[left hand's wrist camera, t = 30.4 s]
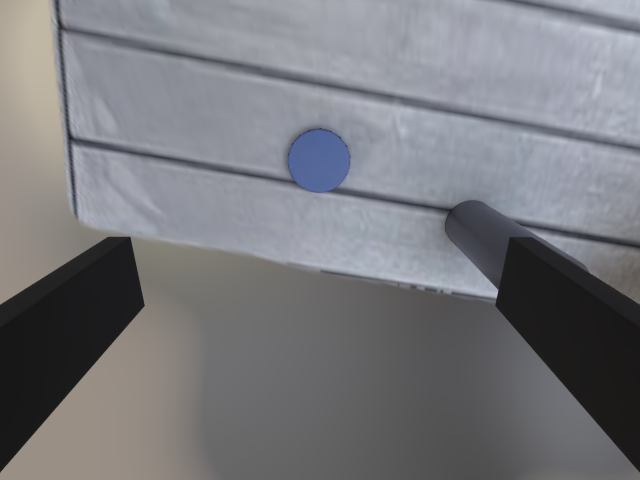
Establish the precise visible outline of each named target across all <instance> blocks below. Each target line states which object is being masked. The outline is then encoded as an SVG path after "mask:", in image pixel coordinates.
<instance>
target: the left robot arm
mask: <svg viewBox="0 0 640 480" xmlns="http://www.w3.org/2000/svg"><path fill="white" fill-rule="evenodd" d="M144 306H145V305H144V300H143V296H142V291H141V286H140V281H139V276H138V271H137V267H136V262H135V257H134V252H133V247H132V243H131V238H130V237H107V238H106V239H104V240H102V241H101V242H99V243H98V244H96V245H94V246H93V247H91V248H90V249H88V250H86V251H85V252H83V253H82V254H80V255H79V256H77V257H75V258H74V259H72V260H71V261H69V262H67V263H66V264H64V265H63V266H61V267H59V268H58V269H56V270H55V271H53V272H52V273H50V274H48V275H47V276H45V277H44V278H42V279H40V280H39V281H37V282H36V283H34V284H32V285H31V286H29V287H28V288H26V289H25V290H23V291H21V292H20V293H18V294H17V295H15V296H13V297H12V298H10V299H9V300H7V301H5V302H4V303H2V304H1V305H0V472H1V471H2V470H3V469H4V467H5V466H6V465H7V464H8V463H9V462H10V461H11V459H12V458H13V457H14V456H15V455H16V454H17V452H18V451H19V450H20V449H21V448H22V447H23V445H24V444H25V443H26V442H27V441H28V440H29V439H30V437H31V436H32V435H33V434H34V433H35V432H36V431H37V429H38V428H39V427H40V426H41V425H42V424H43V422H44V421H45V420H46V419H47V418H48V417H49V416H50V414H51V413H52V412H53V411H54V410H55V409H56V407H57V406H58V405H59V404H60V403H61V402H62V401H63V399H64V398H65V397H66V396H67V395H68V394H69V392H70V391H71V390H72V389H73V388H74V387H75V386H76V384H77V383H78V382H79V381H80V380H81V379H82V377H83V376H84V375H85V374H86V373H87V372H88V371H89V369H90V368H91V367H92V366H93V365H94V364H95V362H96V361H97V360H98V359H99V358H100V357H101V356H102V354H103V353H104V352H105V351H106V350H107V349H108V347H109V346H110V345H111V344H112V343H113V342H114V340H115V339H116V338H117V337H118V336H119V335H120V334H121V333H122V331H123V330H124V329H125V328H126V327H127V326H128V324H129V323H130V322H131V321H132V320H133V319H134V318H135V316H136V315H137V314H138V313H139V312H140V311H141V309H142V308H143V307H144ZM495 306H496V307H497V308H498V309H499V311H500V312H501V313H502V314H503V315H504V316H505V318H506V319H507V320H508V321H509V322H510V323H511V324H512V326H513V327H514V328H515V329H516V330H517V331H518V332H519V334H520V335H521V336H522V337H523V338H524V339H525V341H526V342H527V343H528V344H529V345H530V346H531V347H532V349H533V350H534V351H535V352H536V353H537V354H538V356H539V357H540V358H541V359H542V360H543V361H544V362H545V364H546V365H547V366H548V367H549V368H550V369H551V371H552V372H553V373H554V374H555V375H556V376H557V377H558V379H559V380H560V381H561V382H562V383H563V384H564V386H565V387H566V388H567V389H568V390H569V391H570V392H571V394H572V395H573V396H574V397H575V398H576V399H577V401H578V402H579V403H580V404H581V405H582V406H583V407H584V409H585V410H586V411H587V412H588V413H589V414H590V416H591V417H592V418H593V419H594V420H595V421H596V422H597V424H598V425H599V426H600V427H601V428H602V429H603V430H604V432H605V433H606V434H607V435H608V436H609V437H610V439H611V440H612V441H613V442H614V443H615V444H616V446H617V447H618V448H619V449H620V450H621V451H622V452H623V454H624V455H625V456H626V457H627V458H628V459H629V461H630V462H631V463H632V464H633V465H634V466H635V467H636V469H637V470H638V471H639V472H640V305H639V304H638V303H636V302H635V301H633V300H631V299H630V298H628V297H627V296H625V295H623V294H622V293H620V292H619V291H617V290H615V289H614V288H612V287H611V286H609V285H608V284H606V283H604V282H603V281H601V280H600V279H598V278H596V277H595V276H593V275H592V274H590V273H588V272H587V271H585V270H584V269H582V268H581V267H579V266H577V265H576V264H574V263H573V262H571V261H569V260H568V259H566V258H565V257H563V256H561V255H560V254H558V253H557V252H555V251H554V250H552V249H550V248H549V247H547V246H546V245H544V244H542V243H541V242H539V241H538V240H536V239H534V238H533V237H510V238H509V243H508V247H507V252H506V257H505V262H504V267H503V271H502V276H501V281H500V286H499V291H498V295H497V300H496V305H495Z"/></svg>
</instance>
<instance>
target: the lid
mask: <svg viewBox="0 0 640 480" xmlns="http://www.w3.org/2000/svg"><path fill="white" fill-rule="evenodd" d="M288 155H289V156H288V166H289V171H290V173H291V175H292V177H293V179H294V180H295V182H296V183H297V184H298V185H299V186H301V187H302V188H304V189H306V190H308V191H311V192H318V193H319V192H327V191H330V190H332V189H334V188H336V187H337V186H338V185H340V184H341V183H342V182H343V180H344V179H345V177H346V176H347V173H348V170H349V166H350V156H349V152H348V149H347V145H345V144H344V142H343V141H342V139H341V137H339V136H337V135H336V134H335V133H333V132H332V131H331V130H330V131H328V130H325V129H321V128H320V129H313V130H309V131H307V132H305V133H303V134H302V135H299V137H298V138H297V139H296V141H295V142H294V143H293V144H292V147H291V149H290V152H289V154H288Z"/></svg>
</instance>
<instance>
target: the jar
mask: <svg viewBox="0 0 640 480" xmlns="http://www.w3.org/2000/svg"><path fill="white" fill-rule="evenodd" d="M445 230H446V233H447V236H448V237H449V239H450V240H451V241H452V242H453V243H454V244H455V245H456V246H457V247H458V248H459V249H460V250H461V251H462V252H463V253H464V254H465V255H466V256H467V257H468V259H469V260H470V261H471V262H472V263H473V264H474V265H475V266H476V267H477V268H478V269H479V270H480V271H481V272H482V273H483V274H484V275H485V276H486V277H487V278H488V279H489V280H490V281H491V283H492V284H493V285H494V286H495V287H496V288H497V289H498V290H499V286H500V281H501V276H502V271H503V267H504V262H505V257H506V252H507V247H508V243H509V238H510V237H533V238H534V239H536V240H538V241H539V242H541V243H542V244H544V245H546V246H547V247H549V248H550V249H552V250H554V251H555V252H557V253H558V254H560V255H561V256H563V257H565V258H566V259H568V260H569V261H571V262H573V263H574V264H576V265H577V266H579V267H581V268H582V269H584V270H585V271H587V272H588V273H589V271H588V269H587V268H586V267H585V266H584V265H583V264H582V263H581V262H579V261H578V260H576V259H575V258H573V257H571V256H570V255H568V254H566V253H565V252H563V251H561V250H560V249H558V248H556V247H555V246H553V245H552V244H550V243H548V242H547V241H545V240H543V239H542V238H540V237H538V236H537V235H535V234H533V233H532V232H530V231H529V230H527V229H525V228H524V227H522V226H520V225H519V224H517V223H515V222H514V221H512V220H510V219H509V218H507V217H506V216H504V215H502V214H501V213H499V212H497V211H496V210H494V209H492V208H491V207H489V206H487V205H486V204H484V203H482V202H479V201H466V202H463V203H461V204H459V205H457V206H456V207H455V208H453V209H452V211H451V212H450V213H449V215H448V217H447V219H446V223H445Z"/></svg>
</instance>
